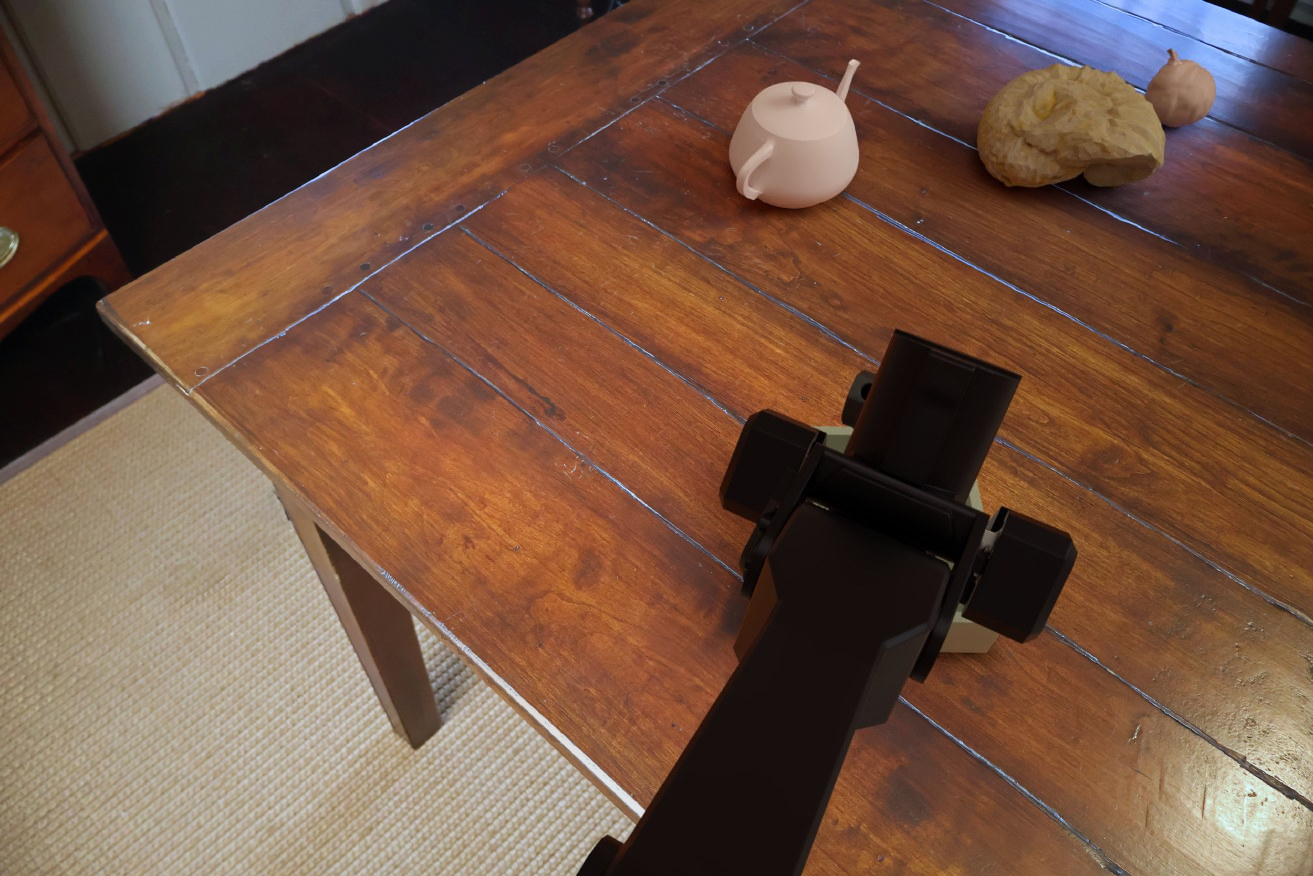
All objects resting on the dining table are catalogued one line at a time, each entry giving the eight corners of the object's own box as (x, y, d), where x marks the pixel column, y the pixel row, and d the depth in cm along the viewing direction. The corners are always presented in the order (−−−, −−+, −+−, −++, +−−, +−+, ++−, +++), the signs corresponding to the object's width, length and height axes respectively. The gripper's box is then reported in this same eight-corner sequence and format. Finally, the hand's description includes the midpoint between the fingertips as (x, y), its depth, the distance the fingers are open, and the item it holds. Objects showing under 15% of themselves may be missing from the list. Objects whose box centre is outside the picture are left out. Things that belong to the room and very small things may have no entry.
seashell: (1031, 129, 104) (935, 146, 96) (1084, 33, 96) (983, 43, 89) (1152, 221, 95) (1055, 247, 88) (1220, 123, 88) (1121, 143, 80)
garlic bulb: (1153, 94, 104) (1187, 25, 97) (1209, 120, 101) (1248, 51, 95) (1123, 121, 101) (1156, 51, 94) (1180, 148, 98) (1218, 79, 92)
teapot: (794, 103, 102) (808, 13, 93) (897, 150, 97) (921, 59, 89) (681, 202, 92) (685, 112, 84) (790, 259, 88) (805, 169, 80)
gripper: (1145, 472, 42) (1104, 438, 57) (758, 321, 47) (813, 325, 62) (1038, 690, 45) (1025, 603, 59) (680, 525, 50) (750, 482, 64)
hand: (901, 497), depth 61 cm, fingers open, 9 cm apart
